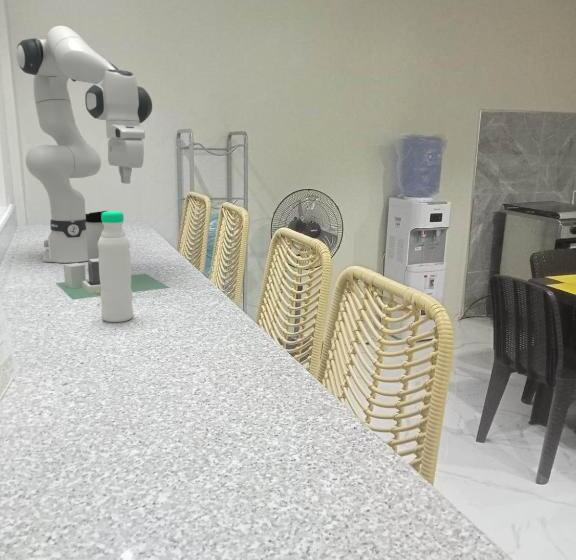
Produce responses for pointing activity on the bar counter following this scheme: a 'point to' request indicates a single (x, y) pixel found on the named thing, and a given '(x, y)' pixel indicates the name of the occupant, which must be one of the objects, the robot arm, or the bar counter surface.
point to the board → (137, 284)
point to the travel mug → (93, 233)
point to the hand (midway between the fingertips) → (125, 183)
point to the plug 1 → (74, 275)
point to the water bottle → (115, 269)
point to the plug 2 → (94, 271)
